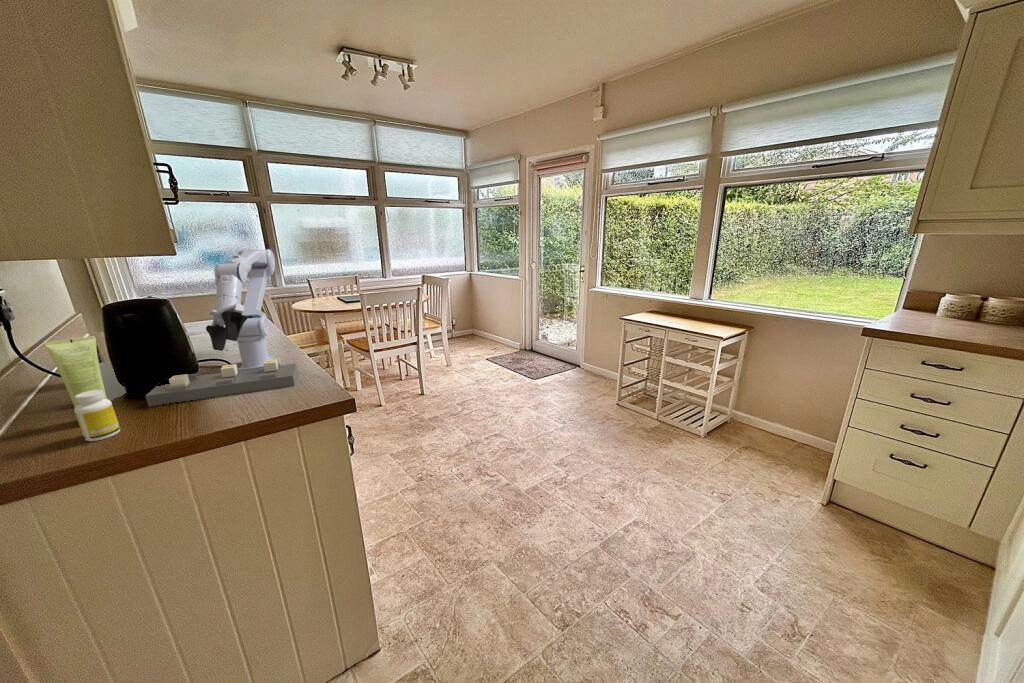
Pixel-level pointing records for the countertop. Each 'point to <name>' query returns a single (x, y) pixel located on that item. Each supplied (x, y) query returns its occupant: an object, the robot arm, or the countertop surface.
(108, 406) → the supplement bottle
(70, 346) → the tube
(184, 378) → the switch
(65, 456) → the countertop surface
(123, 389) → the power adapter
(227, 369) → the switch mid
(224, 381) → the power strip
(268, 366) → the switch
